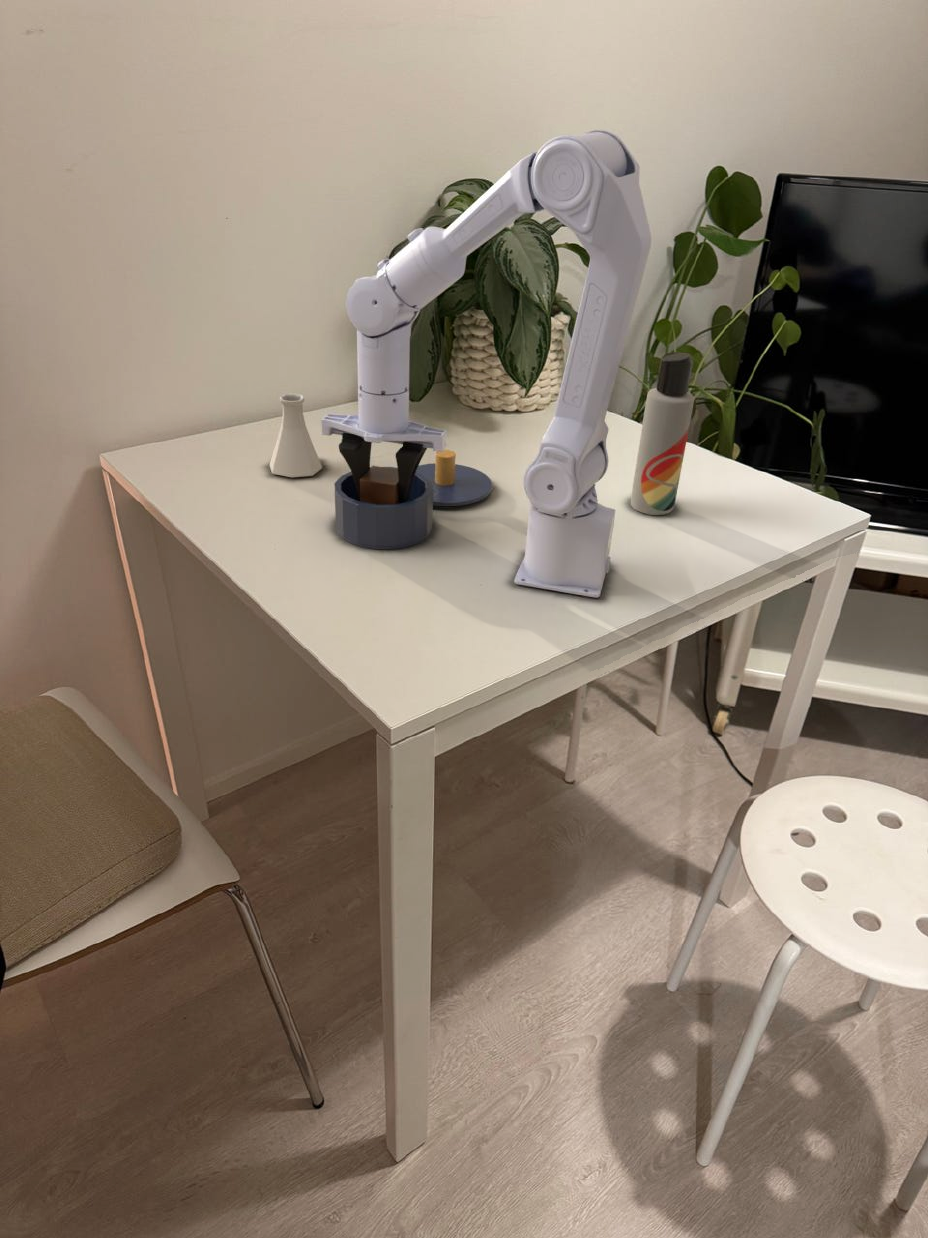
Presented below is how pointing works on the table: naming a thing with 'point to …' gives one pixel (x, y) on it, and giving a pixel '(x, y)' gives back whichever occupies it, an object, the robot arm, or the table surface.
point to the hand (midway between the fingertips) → (383, 498)
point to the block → (379, 486)
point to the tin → (383, 516)
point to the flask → (294, 442)
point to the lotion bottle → (663, 437)
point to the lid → (455, 481)
